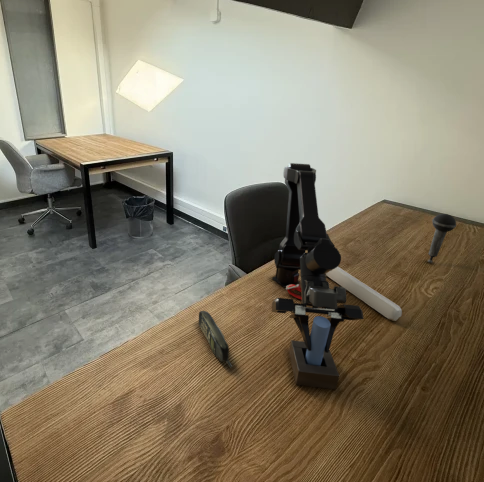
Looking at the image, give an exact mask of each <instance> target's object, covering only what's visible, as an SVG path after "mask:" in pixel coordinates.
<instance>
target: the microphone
mask: <svg viewBox="0 0 484 482" xmlns="http://www.w3.org/2000/svg"><path fill="white" fill-rule="evenodd" d="M431 222H432V226H433V227H434V229H435V230H434V234H433V237H432V240H431V244H430V246H429V251H428V255H429V257H430V258H429V259H428V260H427V262H428V263H429V264H432V263H433V259H434V258H435V257H438V255H439V252H440V250H441V248H442V245H443V242H444V240H445V238H446V235H447V233H448V232H451V231H453V230H454V229H455V228H457V221H456V219H455V218H454V217H453V215H451V214H448V213H439V214H437V215H435V216H434V217H433V218H432V220H431Z"/></svg>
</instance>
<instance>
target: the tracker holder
mask: <svg viewBox="0 0 484 482" xmlns="http://www.w3.org/2000/svg"><path fill="white" fill-rule="evenodd" d="M286 287H287V288H286V289H285V290H286V291H287V293H288V294H289V295H290V296H293V297H294V298H296V299H298V300H300V301H302V295H299V294H296V293H294V292H293V291H297V292H300V293H301V288H300V283H299V284H297V285H294V284H291V285H288V286H286Z"/></svg>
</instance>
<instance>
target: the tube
mask: <svg viewBox="0 0 484 482" xmlns="http://www.w3.org/2000/svg"><path fill="white" fill-rule="evenodd" d="M326 277H328V278H329V279H331V280H332V281H333V282H335V283H337V284H338V285H339V286H340V287H344V288H345V290H346V291H348V292H350V294H352V295H353V296H355V297H356V298H358V299H359V300H361V301H362V302H364V303H365V304H367V305H368V306H369V307H371V308H372V309H373V310H375V311H377V312H378V313H379V314H380V315H382V316H383V317H385V318H386V319H387V320H389V321H393V322H396V321H397V320H399V318H401V317H402V315H403V310H402V308H401V306H400V305H398V304H397V303H395V302H394V301H392V300H391V299H389V298H388V297H386V296H384V295H383V294H381V293H379V292H378V291H377V290H375V289H374V288H372V287H371V286H369V285H367V284H366V283H364V282H363V281H361V280H359V279H358V278H356V277H355V276H353V275H352V274H350V273H349V272H347V271H346V270H344V269H343V268H341V267H340V266H338V267H336V268H335V269H333V270H331V271H329V272H328V273H326Z"/></svg>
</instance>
